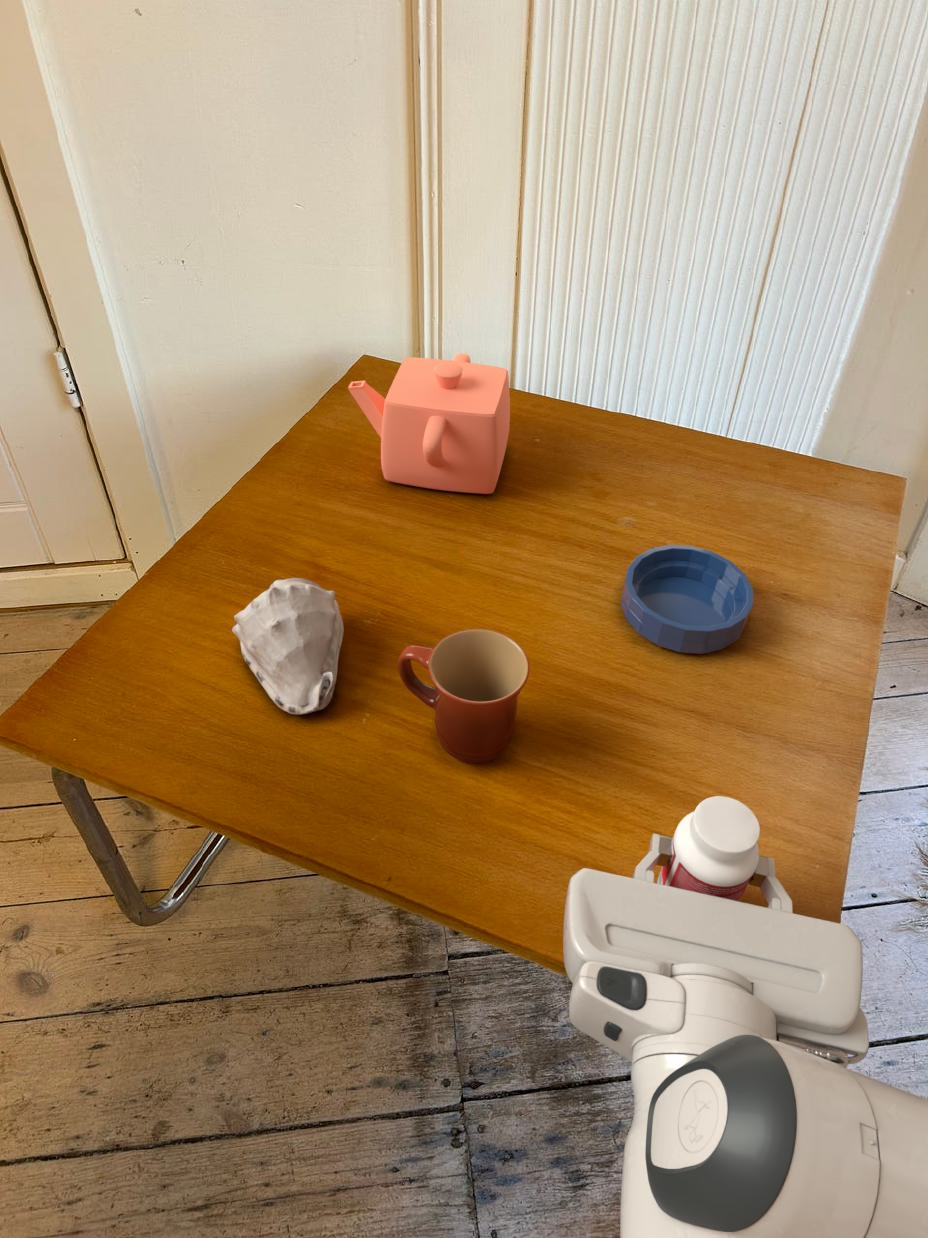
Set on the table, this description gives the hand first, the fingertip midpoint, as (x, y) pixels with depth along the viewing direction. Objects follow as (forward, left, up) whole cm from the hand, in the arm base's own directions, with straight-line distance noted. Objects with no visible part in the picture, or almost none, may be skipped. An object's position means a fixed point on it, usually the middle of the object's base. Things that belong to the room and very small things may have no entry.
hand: (710, 849), depth 65 cm
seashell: (+39, -17, -8) cm, 44 cm away
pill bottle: (0, +1, -6) cm, 6 cm away
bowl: (+2, -34, -8) cm, 35 cm away
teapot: (+36, -54, -8) cm, 66 cm away
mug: (+22, -12, -8) cm, 27 cm away
